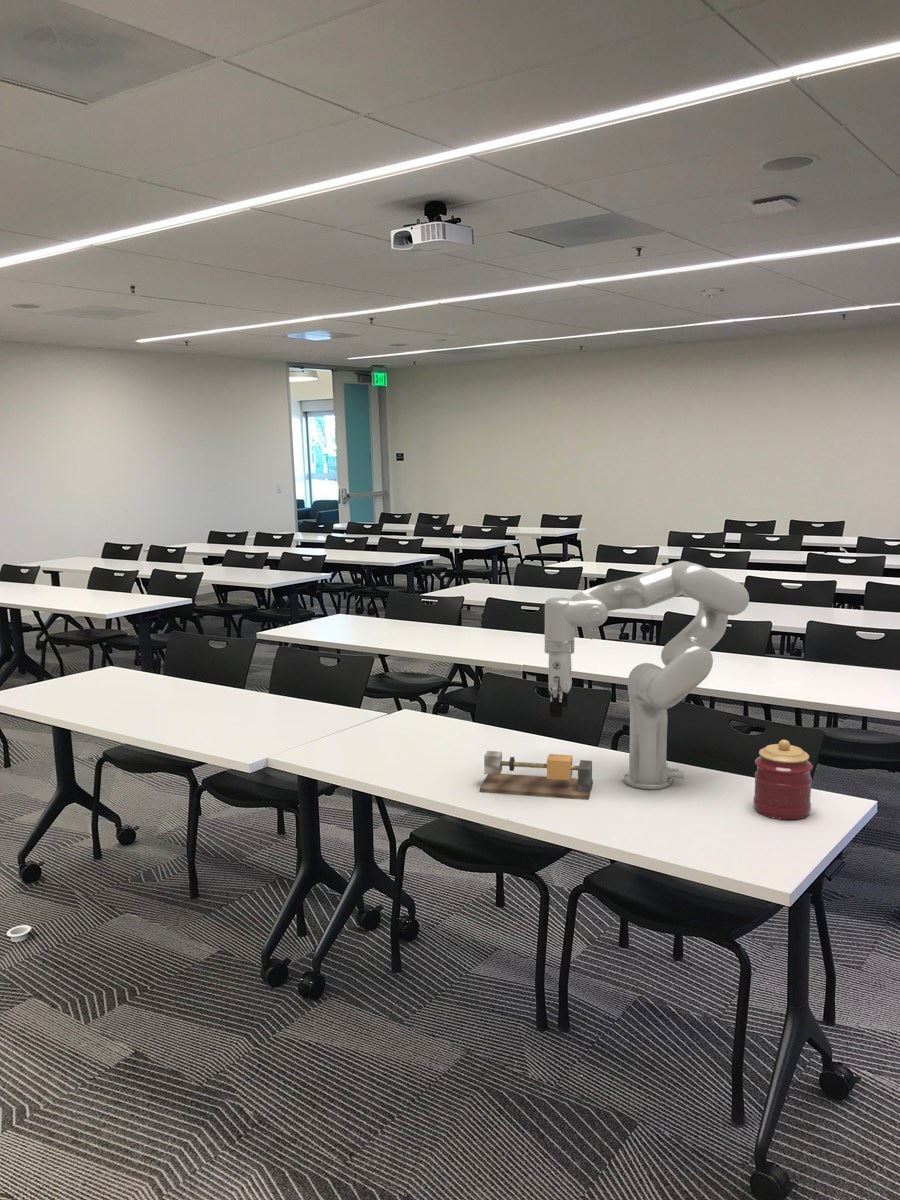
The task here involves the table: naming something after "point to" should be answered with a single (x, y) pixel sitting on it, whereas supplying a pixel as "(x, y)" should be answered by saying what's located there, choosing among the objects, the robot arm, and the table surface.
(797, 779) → the canister
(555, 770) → the sleeve
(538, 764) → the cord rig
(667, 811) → the table surface
